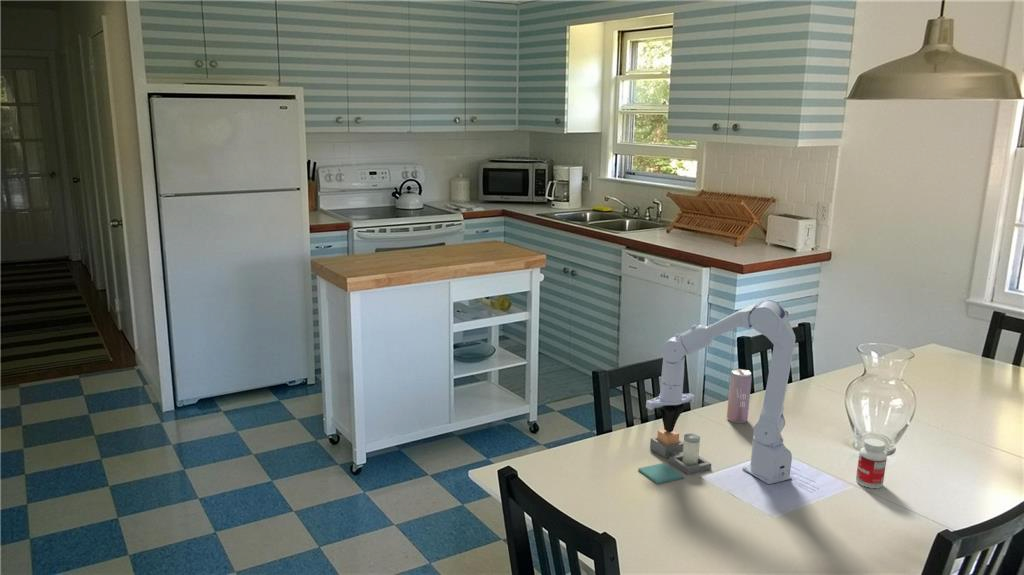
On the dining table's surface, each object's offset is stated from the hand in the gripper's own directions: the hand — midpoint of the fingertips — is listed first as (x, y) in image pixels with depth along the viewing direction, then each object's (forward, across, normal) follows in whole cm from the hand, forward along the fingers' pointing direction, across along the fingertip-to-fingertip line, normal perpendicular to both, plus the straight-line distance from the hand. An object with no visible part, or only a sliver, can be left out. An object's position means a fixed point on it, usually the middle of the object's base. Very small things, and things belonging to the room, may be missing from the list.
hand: (668, 430), depth 206 cm
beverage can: (+6, -33, -10) cm, 35 cm away
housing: (+6, 0, +5) cm, 8 cm away
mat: (+6, +10, +10) cm, 16 cm away
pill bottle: (+6, -35, +36) cm, 50 cm away
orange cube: (+4, 0, 0) cm, 4 cm away
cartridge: (+6, 0, +10) cm, 11 cm away
